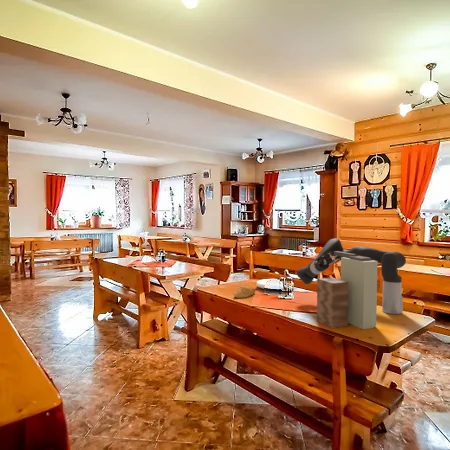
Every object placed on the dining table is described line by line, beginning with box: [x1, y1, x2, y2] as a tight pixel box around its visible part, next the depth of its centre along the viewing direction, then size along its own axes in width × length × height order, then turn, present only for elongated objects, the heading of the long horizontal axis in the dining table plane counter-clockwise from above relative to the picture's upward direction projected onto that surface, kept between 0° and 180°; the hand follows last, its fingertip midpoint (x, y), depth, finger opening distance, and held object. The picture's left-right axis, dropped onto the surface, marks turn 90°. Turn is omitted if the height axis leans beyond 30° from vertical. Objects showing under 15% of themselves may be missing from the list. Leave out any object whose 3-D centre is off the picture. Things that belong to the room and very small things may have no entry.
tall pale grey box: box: [340, 257, 379, 330], centre depth 165 cm, size 16×8×32 cm, turn 21°
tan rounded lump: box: [233, 284, 256, 299], centre depth 219 cm, size 21×10×8 cm, turn 138°
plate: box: [256, 278, 295, 289], centre depth 240 cm, size 28×6×27 cm
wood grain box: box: [316, 276, 349, 329], centre depth 165 cm, size 12×9×22 cm
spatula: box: [334, 251, 371, 261], centre depth 170 cm, size 22×6×2 cm, turn 21°
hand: (335, 254), depth 179 cm, fingers open, 8 cm apart
